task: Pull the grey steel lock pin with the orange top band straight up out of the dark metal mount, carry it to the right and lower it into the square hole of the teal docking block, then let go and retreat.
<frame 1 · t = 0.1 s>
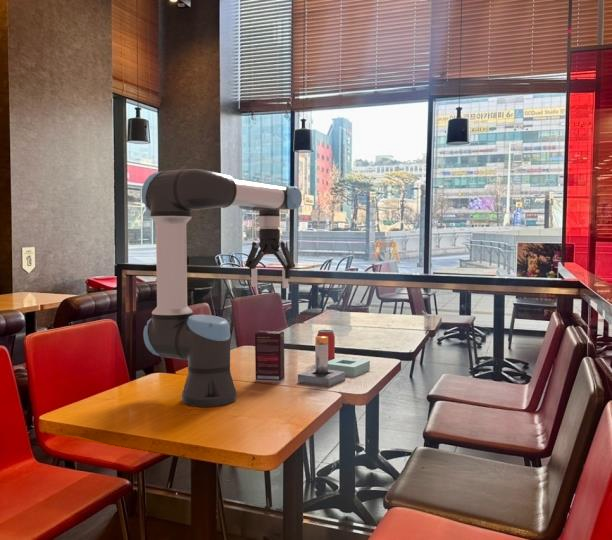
hand: (269, 287, 211), 28 cm above the table, fingers open, 13 cm apart
socket block: (346, 372, 199), on the table
mount: (321, 382, 184), on the table
lock pin: (321, 381, 184), resting on mount
beer can: (325, 364, 213), on the table
supplement box: (269, 381, 186), on the table
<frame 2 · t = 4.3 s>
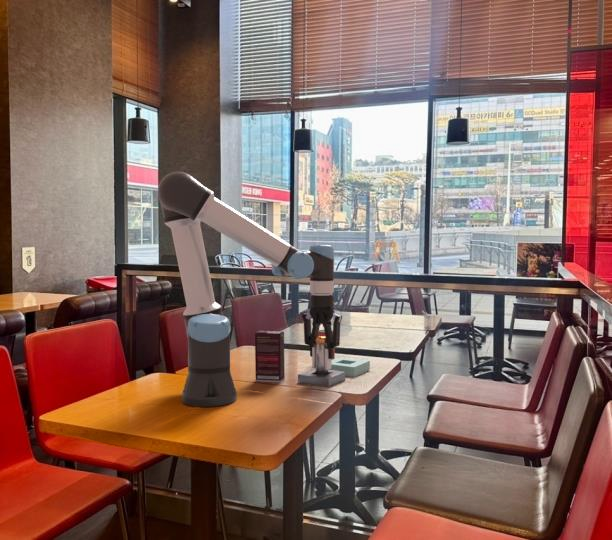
hand: (321, 367, 184), 5 cm above the table, fingers closed on lock pin, 4 cm apart
lock pin: (321, 381, 184), resting on mount, touching gripper
everything else where it was.
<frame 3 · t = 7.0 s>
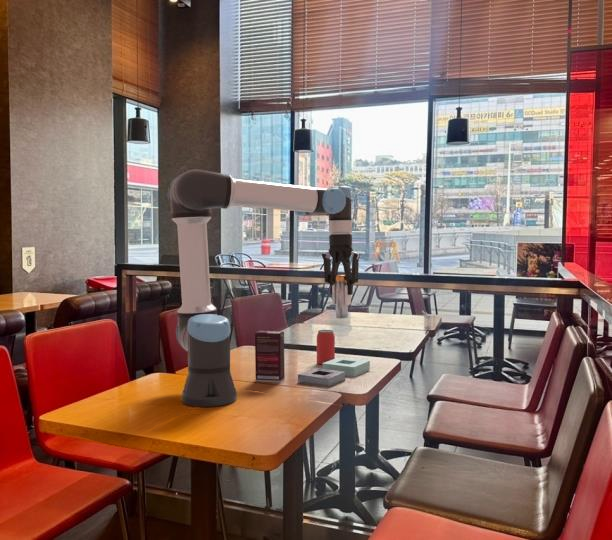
hand: (341, 304, 193), 24 cm above the table, fingers closed on lock pin, 4 cm apart
lock pin: (341, 317, 193), point 19 cm above the table, touching gripper
everything else where it was.
when the fingers open (6 cm above the table, at t = 10.0 s): lock pin stays where it is, resting on socket block.
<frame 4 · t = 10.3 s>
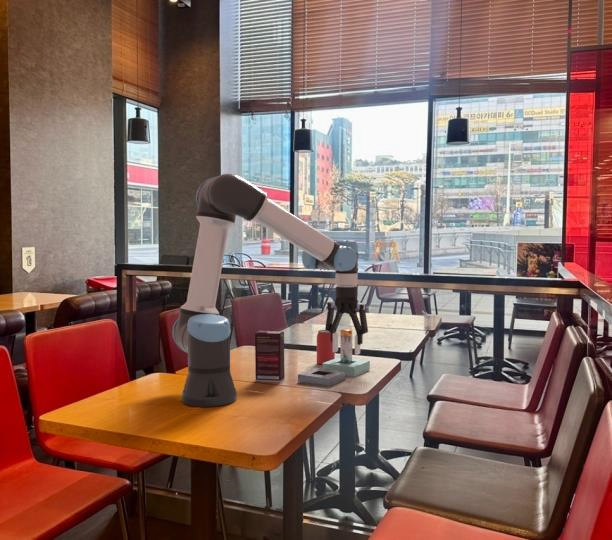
hand: (346, 352, 198), 7 cm above the table, fingers open, 8 cm apart
lock pin: (346, 371, 199), resting on socket block
everything else where it was.
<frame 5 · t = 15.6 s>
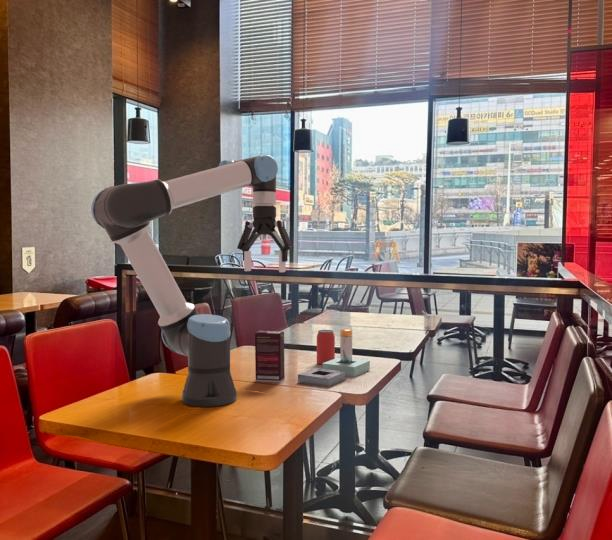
hand: (264, 271, 189), 35 cm above the table, fingers open, 13 cm apart
nothing on the table moved.
at the end: lock pin 0.0 cm off-centre on the socket block, point 0.4 cm above the socket block's base; lock pin tilted 0°; the gripper is holding nothing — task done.
